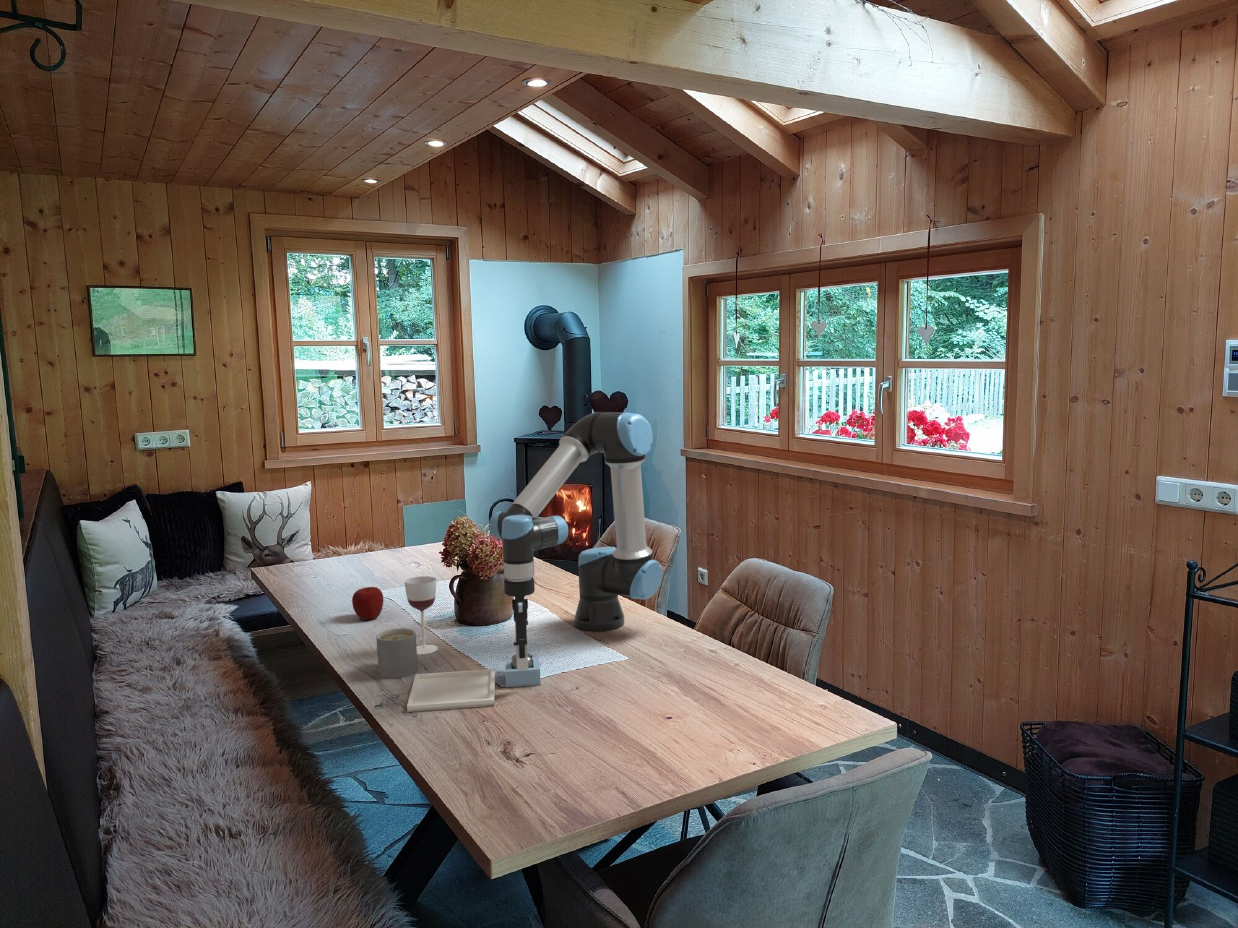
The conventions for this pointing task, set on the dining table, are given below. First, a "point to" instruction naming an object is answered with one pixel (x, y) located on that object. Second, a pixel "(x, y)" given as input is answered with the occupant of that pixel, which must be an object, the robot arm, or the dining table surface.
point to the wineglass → (421, 602)
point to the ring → (522, 674)
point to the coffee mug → (397, 653)
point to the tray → (452, 690)
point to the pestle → (514, 658)
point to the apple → (368, 602)
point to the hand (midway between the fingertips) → (522, 660)
